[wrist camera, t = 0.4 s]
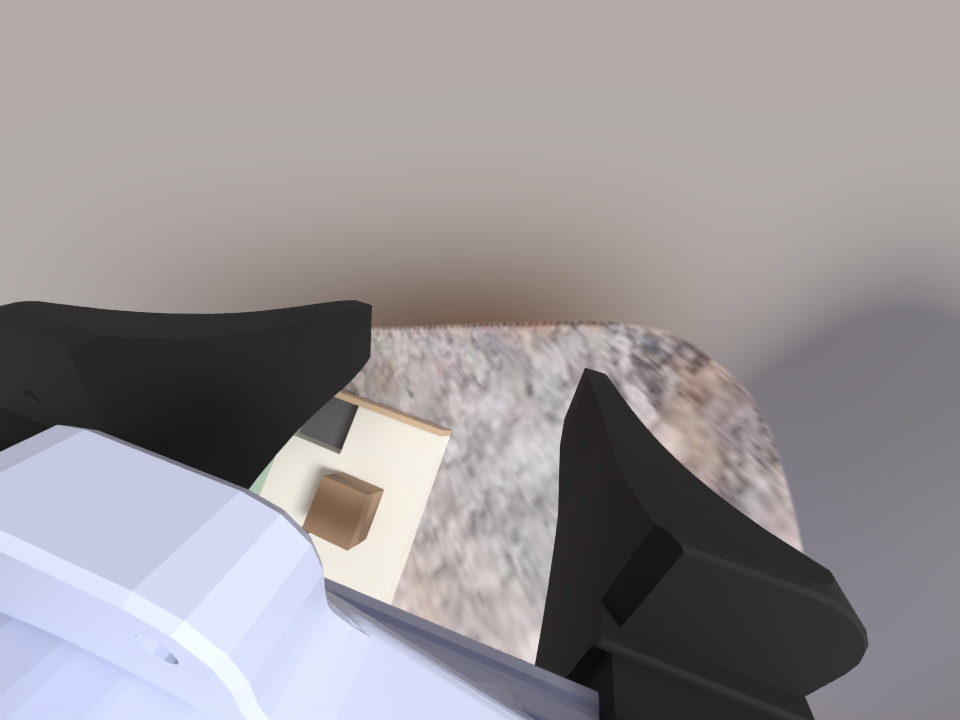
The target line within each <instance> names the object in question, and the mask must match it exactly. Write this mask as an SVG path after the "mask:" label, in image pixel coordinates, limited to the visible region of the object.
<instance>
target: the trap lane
mask: <svg viewBox="0 0 960 720" xmlns="http://www.w3.org/2000/svg"><path fill="white" fill-rule="evenodd" d="M451 432H452V431H451V430H448V429H446V428H443V427H440V426H438V425H435V424H432V423H429V422H427V421H424V420H421V419H418V418H416V417H413V416H410V415H408V414H405V413H402V412H399V411H397V410H394V409H391V408H388V407H386V406H383V405H380V404H378V403H375V402H372V401H369V400H367V399H364V398H361V397H358V396H356V395H353V394H350V393H348V392H345V391H342V390H341V391H340V392H339V393H337V394H336V395H335V396H334V397H333V398H332V399H331V400H330V401H329V402H327V403H326V404H325V405H324V406H323V407H322V408H321V409H320V410H319V411H318V412H316V413H315V414H314V415H313V416H312V417H311V418H310V419H309V420H308V421H307V422H306V423H305V424H304V425H303V426H302V427H301V428H300V429H299V430H298V431H297V432H296V433H295V434H294V435H293V437H292V438H291V439H290V440H289V441H288V442H287V443H286V444H285V446H284V447H283V448H282V449H281V450H280V451H279V452H278V454H277V455H276V456H275V457H274V459H273V460H272V461H271V462H270V463H269V465H268V466H267V467H266V468H265V469H264V471H263V472H262V473H261V474H260V476H259V477H258V478H257V479H256V481H255V482H254V483H253V485H252V486H251V487H250V489H249V490H250V491H252V492H254V493H255V494H257V495H259V496H261V497H262V498H264V499H266V500H268V501H269V502H271V503H273V504H275V505H276V506H278V507H280V508H282V509H283V510H285V511H286V512H287V513H288V514H289V515H290V516H291V517H292V518H293V519H294V520H295V521H296V522H297V523H298V524H299V525H300V526H301V527H302V526H303V524H304V521H305V519H306V516H307V514H308V511H309V509H310V506H311V504H312V501H313V499H314V496H315V494H316V491H317V489H318V486H319V484H320V481H321V479H322V476H324V475H329V474H334V473H339V472H344V473H346V474H349V475H351V476H354V477H356V478H358V479H361V480H363V481H365V482H368V483H370V484H372V485H375V486H377V487H379V488H382V489H384V492H383V495H382V498H381V500H380V503H379V506H378V508H377V511H376V514H375V517H374V519H373V522H372V525H371V527H370V530H369V533H368V535H367V538H366V540H364V541H363V542H361V543H360V544H358V545H356V546H355V547H353V548H351V549H350V550H348V551H347V550H345V549H342V548H340V547H338V546H336V545H334V544H332V543H330V542H328V541H326V540H324V539H322V538H320V537H317V536H315V535H313V534H311V533H309V532H307V531H306V532H307V533H308V534H309V535H310V536H311V538H312V540H313V543H314V545H315V547H316V550H317V552H318V554H319V556H320V559H321V561H322V566H323V572H324V577H325V578H327V579H330V580H332V581H334V582H337V583H339V584H342V585H344V586H346V587H349V588H351V589H354V590H356V591H358V592H361V593H363V594H366V595H368V596H370V597H373V598H375V599H377V600H380V601H382V602H385V603H387V604H389V605H391V603H392V600H393V597H394V594H395V591H396V589H397V586H398V583H399V580H400V577H401V574H402V571H403V569H404V566H405V563H406V560H407V557H408V554H409V551H410V549H411V546H412V543H413V540H414V537H415V534H416V532H417V529H418V526H419V523H420V520H421V517H422V514H423V512H424V509H425V506H426V503H427V500H428V497H429V494H430V492H431V489H432V486H433V483H434V480H435V477H436V474H437V472H438V469H439V466H440V463H441V460H442V457H443V454H444V452H445V449H446V446H447V443H448V440H449V437H450V434H451Z"/></svg>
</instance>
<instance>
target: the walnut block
mask: <svg viewBox="0 0 960 720" xmlns="http://www.w3.org/2000/svg"><path fill="white" fill-rule="evenodd" d="M383 492H384V489H382V488H379V487H377V486H375V485H372V484H370V483H368V482H365V481H363V480H361V479H358V478H356V477H354V476H351V475H349V474H346V473H344V472H339V473H334V474H329V475H324V476H322V479H321V481H320V484H319V486H318V489H317V491H316V494H315V496H314V499H313V501H312V504H311V506H310V509H309V511H308V514H307V516H306V519H305V521H304V524H303V526H302V528H303V529H304V530H305V531H307V532H309V533H311V534H313V535H315V536H317V537H320V538H322V539H324V540H326V541H328V542H330V543H332V544H334V545H336V546H338V547H340V548H342V549H345V550H347V551H348V550H350V549H351V548H353V547H355V546H356V545H358V544H360V543H361V542H363V541H364V540H366V538H367V535H368V533H369V530H370V527H371V525H372V522H373V519H374V517H375V514H376V511H377V508H378V506H379V503H380V500H381V498H382V495H383Z"/></svg>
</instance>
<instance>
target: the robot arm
mask: <svg viewBox="0 0 960 720" xmlns="http://www.w3.org/2000/svg"><path fill="white" fill-rule="evenodd" d="M371 314H372V305H370V304H366V303H363V302H359V301H356V300H346V301H335V302H327V303H320V304H314V305H306V306H299V307H291V308H283V309H275V310H266V311H256V312H244V313H224V314H166V313H165V314H164V313H146V312H131V311H118V310H107V309H97V308H89V307H79V306H71V305H63V304H55V303H47V302H40V301H25V302H15V303H11V304H7V305H3V306H0V720H814V717H813V715H812V712H811V710H810V708H809V705H808V703H807V700H806V698H805V696H807V695H808V694H810V693H812V692H814V691H816V690H818V689H819V688H821V687H823V686H825V685H827V684H828V683H830V682H832V681H834V680H836V679H838V678H839V677H841V676H843V675H845V674H846V673H848V672H849V671H850V670H851V669H852V668H854V667H855V666H857V665H858V664H859V663H860V661H861V660H862V657H863V656H864V654H865V651H866V649H867V647H868V639H867V632H866V629H865V627H864V626H863V624H862V623H861V621H860V619H859V618H858V616H857V614H856V613H855V611H854V610H853V608H852V606H851V604H850V603H849V601H848V600H847V598H846V597H845V595H844V593H843V592H842V590H841V588H840V587H839V585H838V583H837V581H836V580H835V578H834V577H833V575H832V573H831V572H830V571H829V570H828V569H826V568H825V567H823V566H822V565H820V564H818V563H817V562H815V561H813V560H812V559H810V558H809V557H807V556H806V555H804V554H803V553H801V552H800V551H798V550H796V549H795V548H793V547H792V546H790V545H789V544H787V543H785V542H784V541H782V540H781V539H779V538H778V537H776V536H774V535H773V534H771V533H770V532H768V531H767V530H765V529H764V528H762V527H761V526H760V525H758V524H757V523H755V522H754V521H753V520H751V519H750V518H748V517H747V516H746V515H744V514H743V513H741V512H740V511H739V510H737V509H736V508H734V507H733V506H732V505H730V504H729V503H728V502H727V501H725V500H724V499H723V498H721V497H720V496H719V495H717V494H716V493H715V492H714V491H712V490H711V489H710V488H709V487H708V486H706V485H705V484H704V483H703V482H702V481H700V480H699V479H698V478H697V477H696V476H694V475H693V474H692V473H691V472H690V471H689V470H688V469H686V468H685V467H684V466H683V465H682V464H681V463H680V462H679V461H678V460H677V459H676V458H675V457H674V456H673V455H672V454H671V453H670V452H669V451H668V450H667V449H665V448H664V447H663V446H662V444H661V443H660V442H659V441H658V440H657V439H656V438H655V437H654V436H653V435H652V434H651V432H650V431H649V430H648V429H647V428H646V427H645V425H644V424H643V423H642V422H641V421H640V420H639V418H638V417H637V416H636V415H635V413H634V412H633V411H632V409H631V408H630V407H629V405H628V404H627V403H626V401H625V400H624V399H623V397H622V396H621V394H620V393H619V392H618V390H617V389H616V387H615V386H614V385H613V383H612V382H611V381H610V379H609V378H608V377H607V375H606V374H604V373H601V372H597V371H594V370H591V369H587V368H585V370H584V372H583V374H582V377H581V379H580V382H579V384H578V387H577V389H576V392H575V394H574V397H573V399H572V402H571V404H570V407H569V409H568V412H567V414H566V417H565V419H564V425H563V431H562V437H561V443H560V463H559V503H558V520H557V529H556V536H555V543H554V551H553V558H552V564H551V571H550V578H549V585H548V591H547V597H546V603H545V609H544V616H543V622H542V628H541V634H540V639H539V645H538V651H537V656H536V662H535V665H533V664H530V663H528V662H526V661H523V660H521V659H518V658H516V657H514V656H511V655H509V654H506V653H504V652H502V651H499V650H497V649H494V648H492V647H490V646H487V645H485V644H483V643H480V642H478V641H475V640H473V639H471V638H468V637H466V636H463V635H461V634H459V633H456V632H454V631H451V630H449V629H447V628H444V627H442V626H440V625H437V624H435V623H432V622H430V621H428V620H425V619H423V618H420V617H418V616H416V615H413V614H411V613H408V612H406V611H404V610H401V609H399V608H397V607H394V606H392V605H389V604H387V603H385V602H382V601H380V600H377V599H375V598H373V597H370V596H368V595H366V594H363V593H361V592H358V591H356V590H354V589H351V588H349V587H346V586H344V585H342V584H339V583H337V582H334V581H332V580H330V579H327V578H325V577H324V572H323V566H322V561H321V559H320V556H319V554H318V552H317V550H316V547H315V545H314V543H313V540H312V538H311V536H310V535H309V534H308V533H307V532H306V531H305V530H304V529H303V528H302V527H301V526H300V525H299V524H298V523H297V522H296V521H295V520H294V519H293V518H292V517H291V516H290V515H289V514H288V513H287V512H286V511H285V510H283V509H282V508H280V507H278V506H276V505H275V504H273V503H271V502H269V501H268V500H266V499H264V498H262V497H261V496H259V495H257V494H255V493H254V492H252V491H250V490H249V489H250V487H251V486H252V485H253V483H254V482H255V481H256V479H257V478H258V477H259V476H260V474H261V473H262V472H263V471H264V469H265V468H266V467H267V466H268V465H269V463H270V462H271V461H272V460H273V459H274V457H275V456H276V455H277V454H278V452H279V451H280V450H281V449H282V448H283V447H284V446H285V444H286V443H287V442H288V441H289V440H290V439H291V438H292V437H293V435H294V434H295V433H296V432H297V431H298V430H299V429H300V428H301V427H302V426H303V425H304V424H305V423H306V422H307V421H308V420H309V419H310V418H311V417H312V416H313V415H314V414H315V413H316V412H318V411H319V410H320V409H321V408H322V407H323V406H324V405H325V404H326V403H327V402H329V401H330V400H331V399H332V398H333V397H334V396H335V395H336V394H337V393H339V392H340V391H341V390H342V389H343V388H344V387H345V386H346V385H347V384H348V383H349V382H350V381H351V380H352V379H353V378H354V377H355V376H356V375H357V374H358V373H359V371H360V370H361V369H362V368H363V366H364V365H365V364H366V362H367V361H368V360H369V358H370V349H371Z"/></svg>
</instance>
